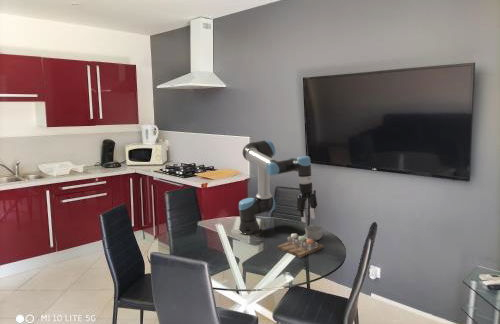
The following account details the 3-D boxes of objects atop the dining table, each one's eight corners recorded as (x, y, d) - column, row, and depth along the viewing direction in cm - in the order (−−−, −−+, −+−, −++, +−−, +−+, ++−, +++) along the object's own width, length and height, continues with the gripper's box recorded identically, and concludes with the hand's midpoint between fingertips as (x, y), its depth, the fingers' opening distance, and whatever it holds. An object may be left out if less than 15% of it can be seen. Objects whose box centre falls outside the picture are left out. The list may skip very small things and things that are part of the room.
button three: (305, 244, 224) (305, 240, 223) (310, 242, 226) (309, 238, 225) (310, 246, 220) (309, 241, 220) (314, 244, 223) (314, 239, 222)
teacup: (322, 242, 234) (321, 230, 233) (305, 242, 237) (304, 230, 235) (322, 234, 248) (322, 222, 247) (306, 234, 250) (305, 223, 249)
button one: (289, 239, 235) (289, 234, 235) (294, 237, 237) (294, 232, 237) (294, 240, 232) (293, 236, 231) (298, 238, 234) (298, 234, 234)
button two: (297, 242, 229) (297, 237, 229) (302, 240, 232) (301, 235, 231) (301, 243, 226) (301, 238, 226) (306, 241, 228) (306, 237, 228)
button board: (277, 248, 231) (277, 241, 230) (300, 239, 242) (299, 232, 241) (300, 257, 215) (299, 249, 214) (322, 247, 226) (322, 240, 225)
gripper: (297, 187, 208) (300, 226, 212) (322, 180, 220) (324, 217, 223) (288, 185, 215) (291, 223, 218) (312, 178, 226) (315, 214, 229)
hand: (308, 220), depth 221 cm, fingers open, 7 cm apart
